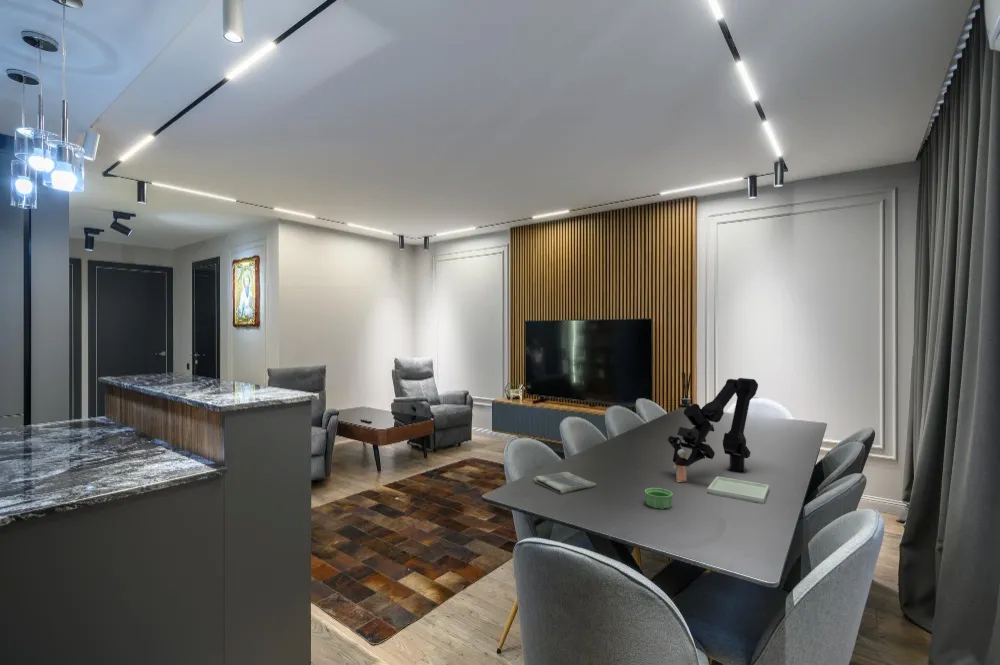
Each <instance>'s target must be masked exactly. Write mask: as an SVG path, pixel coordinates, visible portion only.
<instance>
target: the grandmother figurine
mask: <svg viewBox="0 0 1000 665" xmlns="http://www.w3.org/2000/svg"><path fill="white" fill-rule="evenodd" d="M678 455H679V457H680V458H678V459H677V461H676V462H675V463H674V465H673V467H672V469H674V470H676V478H675V479H676V480H675V482H676V481H677V482H682V481H683V482H682V483H687V482H686V481H687V480H688V478H687V470H686V469H687V467H690V465H689V466H686V465H685V464H686V461H687V460H688V458H686V456H687V450H685V449H684V448H683V449H680V450H678ZM677 482H676V483H677Z"/></svg>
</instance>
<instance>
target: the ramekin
mask: <svg viewBox="0 0 1000 665" xmlns="http://www.w3.org/2000/svg"><path fill="white" fill-rule="evenodd" d="M644 494H645V495H644V496H645V503H646V505H647V507H650V506H651V508H652V507H654V509H657V508H660V509H659V510H665V509H664V508H667V509H670V508H671V507H672V500H673V499H672V498H673V494H674V493H673V492H672V491H670V490H668V489H665V488H661V487H648V488H645V490H644Z"/></svg>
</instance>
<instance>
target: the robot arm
mask: <svg viewBox="0 0 1000 665" xmlns="http://www.w3.org/2000/svg"><path fill="white" fill-rule="evenodd" d="M758 388H759V384H758V382H757V381H756V379H754V378H748V377H747V378H746V377H739V378H738V379H737V378H736V379H735V378H729V379H726V381H725V384H724V385H723V386H722V388H721V389H720V391H719V392H718V394H716V396H715V397H714V398H713V400H712V401H709V402H707V403H706V404H705V405H703V406H702V408H701V407H700V405H699V403H693V404H692V405H689V406H687V407H685V408H684V411H683V414H684V416H685V418H686V419H687V420H688V422H689V423H690V424H691V425H693V427H691V428H687V427H683V426H679V428H678V431H677V433H676V434H677V436H676V435H675V436H674V435H669V436H668V438H667V442H668V443H669V444H670V445H671V447H672V448H673V449H674V452H673V457H672V462H673V463H674V464H675V462H676V461H677V459H678V458H680V457H679V455H678V450H680V449H683V450H684V448H685V449H690V450H691V453H690V455H689V456H688V458H687V461H686V464H685V465H686V467H687V466H689V467H690V466H691V465H692V464H693V465H694V464H695V463H696V462H698V461H701V460H703V459H704V460H705V459H706V458H707V459H709V460H713V459H714V457H715V454H716V453H715V451H714V449H713V448H712V446H710V444H708V443H706V442H707V438H706V437H707V436H708V434H709V433H710V432H713V433H714V432H715V428H714V424H711V422H712V423H719V422H720V421H721V420H722V418H723V416H724V414H725V411H724V409H725V407H726V406H727V404H728V403H729V402H730V401H731V400H732V399H733V396H734V395H736V402H735V406H734V411H733V417H732V422H731V426H730V430H729V431H728V432H724V434H723V439H722V446H723V452H724V454H725V455H729V466H728V468H727V469H726V470H727V471H731V472H737V473H745V472H746V471H747V467H745V466H746V465H745V464H746V463H745V461H746V460H745V459H749V458H750V456H751V454H752V453H751V451H750V449H749V448H748V447H747V438H746V437H745V432H744V431H745V427H746V423H747V422H746V421H747V418H748V411H749V406H750V402H751V400H752V399H753V398H754V397H755V396H756V393H757V391H758ZM680 437H681V438H680ZM682 440H683V441H682Z"/></svg>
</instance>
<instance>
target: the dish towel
mask: <svg viewBox="0 0 1000 665" xmlns="http://www.w3.org/2000/svg"><path fill="white" fill-rule="evenodd" d="M532 482H534V483H536V484H539V485H540V486H543V487H545V488H547V489H549V490H550V491H553V492H555V493H557V494H559V495H565V494H570V493H574V492H579V491H584V490H589V489H593V488H596V487H597V483H596V482H593V481H590V480H586V479H585V478H583V477H580V476H578V475H576V474H572V473H571V472H569V471H562V472H561V471H560V472H557V473H549V474H539V475H536V476H535V477H534V478H533V479H532Z"/></svg>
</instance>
